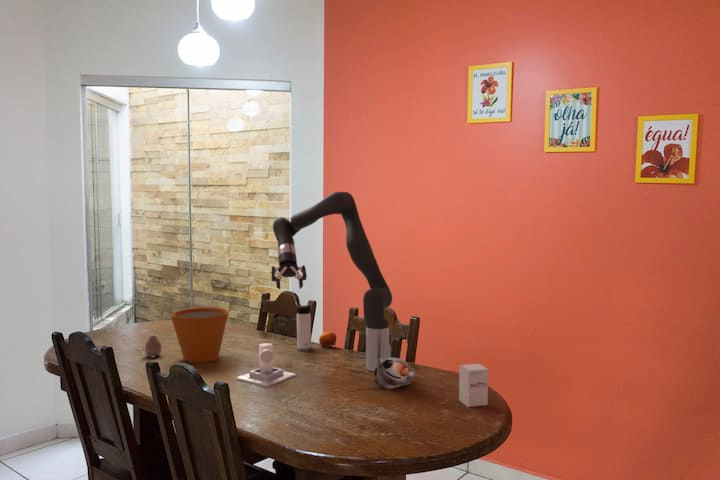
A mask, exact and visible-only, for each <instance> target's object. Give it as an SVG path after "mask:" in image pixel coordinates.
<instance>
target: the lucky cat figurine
mask: <svg viewBox="0 0 720 480" xmlns="http://www.w3.org/2000/svg"><path fill="white" fill-rule="evenodd" d="M373 375H374V378H373V379H374V383H375V384H377V385H378V387H379V388H381V389H386V390H389V391H390V390H393V389H394V388H395V389H396V388H398V387H402V386H403V387H404V386H407V385H411V384H412V383H411V382H412V380H413V378H414V376H415V375H416V370H415V369H413V368H409V364H408V363H407V362H406V361H405V360H403V359H401V358H399V357H394V356H393V357H392V356H391V358H387V359H386V360H384V359H383V358H380V359H379V362H378V366H377V367H376V368H375V371H373Z"/></svg>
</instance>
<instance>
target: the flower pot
mask: <svg viewBox="0 0 720 480" xmlns="http://www.w3.org/2000/svg"><path fill="white" fill-rule="evenodd" d="M228 315H229V310H228V309H227V308H226V309H225V308H221V307H210V306H205V307H203V306H201V307H200V306H199V307H189V308H183V309H179V310H178V309H177V310H176V311H173V312H172V313H171V314H170V318H171V321H172V323H173V328H174V331H175V335H176V337H177V340H178V341H177V342H178V344H179V347H180V351H181V354H182V358H183V360H184V359H185V360H187V361H191V362H190V363H192V362H205V363H209V362H208V361H211V362H214V360H215V361H217V360H218V359H219V357H220V356H219V355H220V351H221V347H222V342H223V338H224V334H225V329H226V324H227V320H228V317H229V316H228ZM216 359H217V360H216ZM185 360H184V361H185ZM187 361H186V362H187Z"/></svg>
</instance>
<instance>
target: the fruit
mask: <svg viewBox="0 0 720 480" xmlns="http://www.w3.org/2000/svg"><path fill="white" fill-rule="evenodd" d="M318 342H319V344H320V346H322V347H324V348H331V347H333V346H335V347H337V346H336V342H337V334H336V333H335V332H333V331H332V330H329V331H325V332H323V333H322V334H320V336H319V337H318ZM328 346H329V347H328Z"/></svg>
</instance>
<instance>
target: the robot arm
mask: <svg viewBox="0 0 720 480" xmlns="http://www.w3.org/2000/svg"><path fill="white" fill-rule="evenodd" d="M357 207H358V206H357V204H356V201H355V199H354V196H353V195H352V194H351V193H349V192H347V191H333V192H331V193H330V194H329V195H327V196H326V197H324V198H323V199H322V200H320V201H319V202H317V203H315V204H313V205H312V206H310V207H307V208H305V209H302V210H301V211H298V212H297V213H295V214H292V215H291V217H290V220H288V218H286V217H284V216H279V217H277V218H275V219H274V221H273V224H272V230H273V231H272V232H273V233H274V236H275V239H276V241H277V259H278V267H275V266H274V265H272V266H271V281H272V282H275V283H276V284H275V285H276V288H277V289H278V290H281V280H283V278H295V279H296V280H297V281H298V287H299V290H300V289H302V288H303V287H304V283H303V281H307V269H306V266H305V265H302V266H298V261H297V260H298V259H297V252H296V247H295V239H294V236H295V235H296V234H298V232H299V231H301V230H302V229H305V228H307V227H309V226H311V225H313V224H314V223H316V222H318V221H319V219H322V218H323V217H327V216H332V215H341V217H342V219H343V222H344V224H345V228H346V229H345V230H346V235H345V236H346V239H345V240H346V241H345V242H346V243H345V244H346V248H347V252H348V254H349V257H350V259H351V261H352V263H353V265H355V266H356V268H357V269H358V270H359V271H360V273H362V275H363V276H364V278H365V279H366V280H367V283H368V286H369V287H370V288H368V289H367V290H366V291H365V292H364V294H363V300H362V301H363V303H362V305H363V308H362V309H363V319H364V321H365V369H366V370H367V371H370V372H374V371H375V368H376V367H377V366H378V362H379V359H380V358H383V359H384V360H386V359H387V358H392V353H391V352H392V347H391V344H390V322H389V321H390V320H389V318H386V317H385V309H387V308H389V307H390V306H391V304H392V302H393V294H392V291H391V289H390V286H389V285H388V283H387V281H386V279H385V277H384V276H383V274H382V271H381V269H380V266H379V265H378V262H377V259H376V257H375V254H374V252H373V248H372V246H371V244H370V241H369V239H368V237H367V233H366V232H365V228H364V226H363V223H362V221H361V218H360V214H359V211H358V208H357ZM299 271H300V272H301V274H300V272H299ZM277 272H278V275H277V276H275V275H276V274H277Z"/></svg>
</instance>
